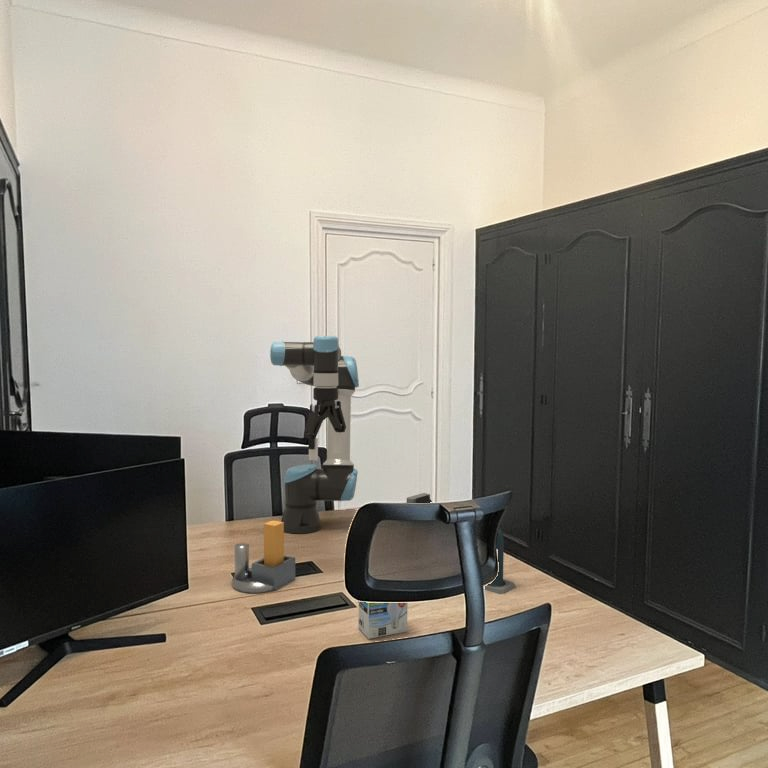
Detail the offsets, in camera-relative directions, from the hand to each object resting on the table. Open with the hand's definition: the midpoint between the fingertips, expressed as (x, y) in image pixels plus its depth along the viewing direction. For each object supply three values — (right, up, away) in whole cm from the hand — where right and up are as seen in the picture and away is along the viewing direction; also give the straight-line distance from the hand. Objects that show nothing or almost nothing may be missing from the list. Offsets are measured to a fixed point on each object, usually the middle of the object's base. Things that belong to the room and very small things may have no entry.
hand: (325, 456), depth 194 cm
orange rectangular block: (-14, -34, -10) cm, 38 cm away
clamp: (+41, -36, -3) cm, 54 cm away
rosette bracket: (-18, -35, -11) cm, 41 cm away
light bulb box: (+18, -38, -39) cm, 57 cm away
